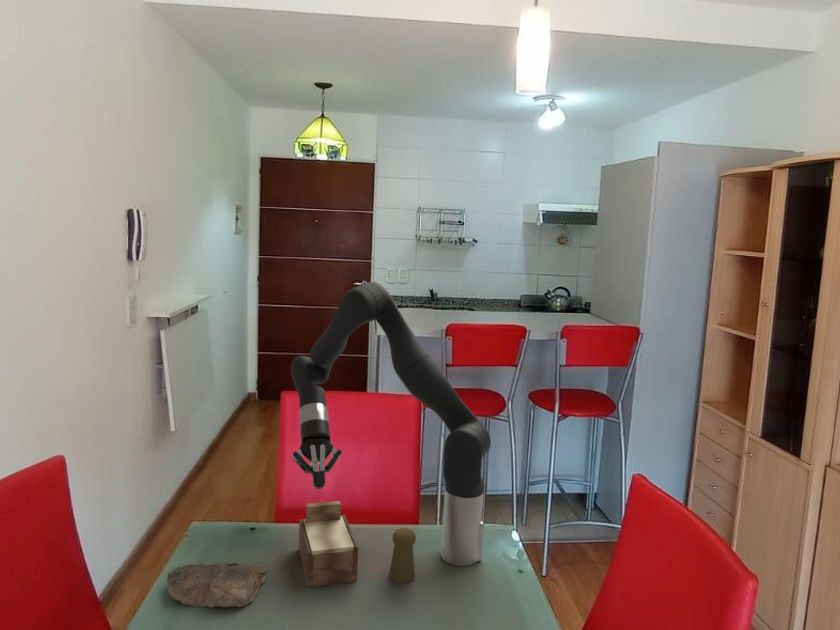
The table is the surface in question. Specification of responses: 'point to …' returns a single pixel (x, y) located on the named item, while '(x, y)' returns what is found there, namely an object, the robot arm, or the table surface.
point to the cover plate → (326, 529)
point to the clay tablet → (216, 584)
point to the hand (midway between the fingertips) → (319, 487)
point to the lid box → (327, 562)
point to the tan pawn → (402, 556)
